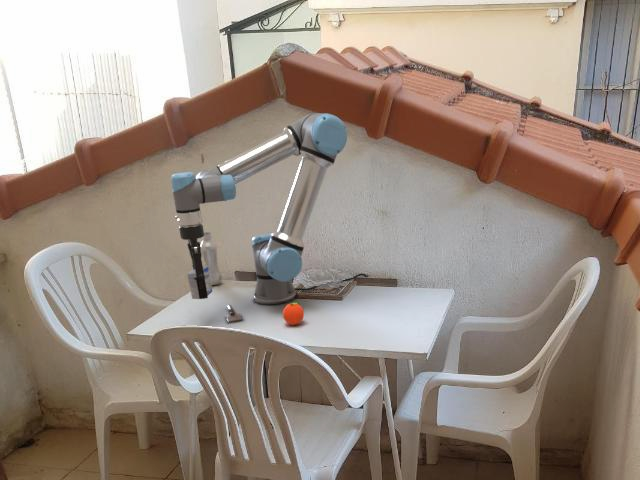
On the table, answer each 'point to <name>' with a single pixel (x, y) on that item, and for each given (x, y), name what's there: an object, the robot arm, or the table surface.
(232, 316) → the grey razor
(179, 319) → the table surface
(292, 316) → the clementine
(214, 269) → the plastic bottle
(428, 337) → the table surface
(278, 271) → the robot arm
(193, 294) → the medicine box
